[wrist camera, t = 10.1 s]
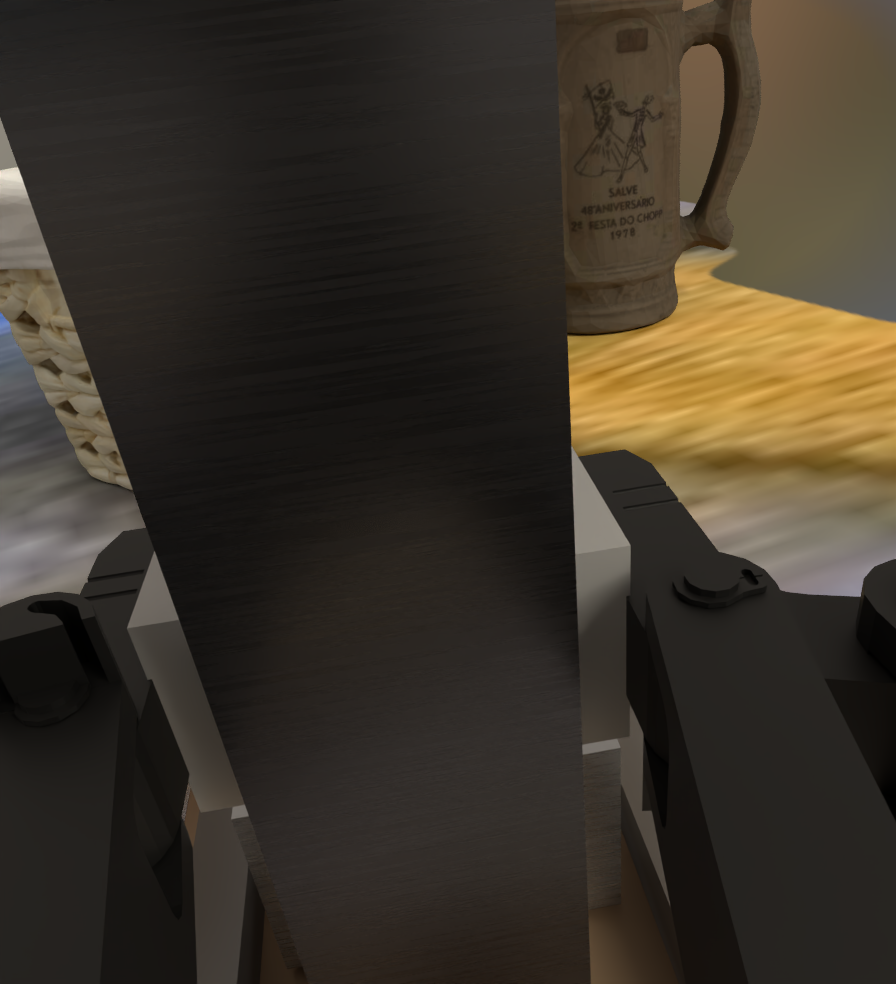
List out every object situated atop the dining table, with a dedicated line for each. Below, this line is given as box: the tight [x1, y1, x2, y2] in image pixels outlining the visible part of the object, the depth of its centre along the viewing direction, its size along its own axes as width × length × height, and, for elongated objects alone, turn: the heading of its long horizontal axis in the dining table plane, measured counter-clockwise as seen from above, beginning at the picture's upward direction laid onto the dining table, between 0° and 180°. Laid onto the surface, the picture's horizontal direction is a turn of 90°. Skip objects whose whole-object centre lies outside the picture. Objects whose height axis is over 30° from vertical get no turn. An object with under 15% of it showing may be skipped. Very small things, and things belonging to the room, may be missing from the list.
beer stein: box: [555, 0, 761, 334], centre depth 50 cm, size 15×11×20 cm
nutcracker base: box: [184, 705, 686, 984], centre depth 18 cm, size 12×24×9 cm, turn 8°
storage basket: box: [0, 167, 133, 490], centre depth 41 cm, size 24×16×15 cm
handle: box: [0, 0, 621, 984], centre depth 11 cm, size 7×8×19 cm
